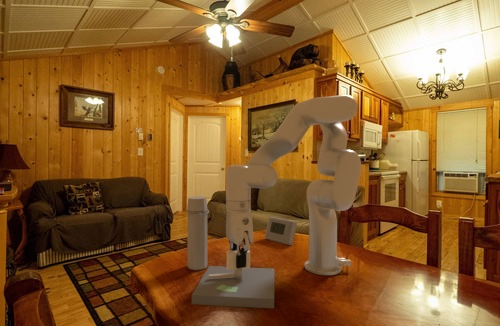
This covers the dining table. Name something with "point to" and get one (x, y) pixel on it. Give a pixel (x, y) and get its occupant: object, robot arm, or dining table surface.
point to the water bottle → (197, 232)
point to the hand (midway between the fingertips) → (238, 264)
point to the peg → (233, 266)
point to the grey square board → (236, 288)
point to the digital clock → (281, 230)
